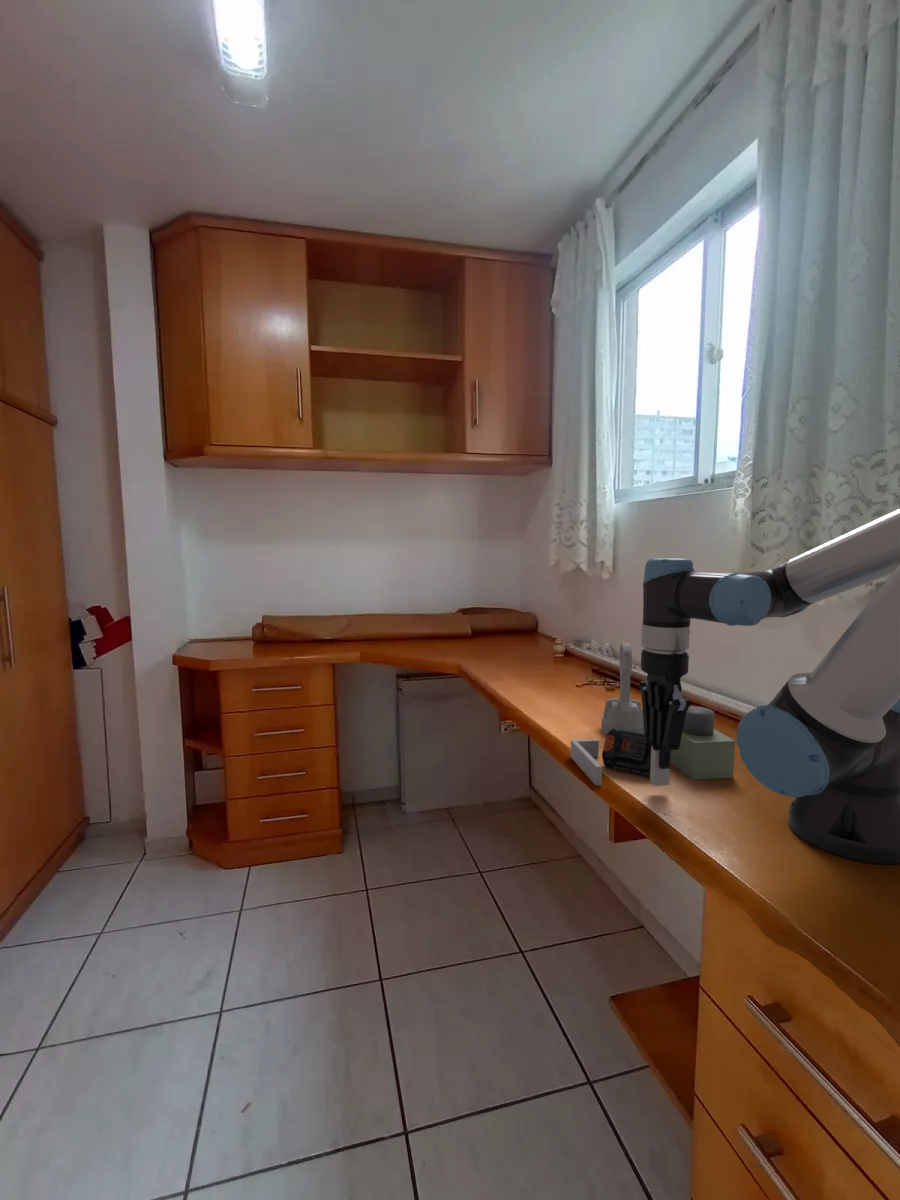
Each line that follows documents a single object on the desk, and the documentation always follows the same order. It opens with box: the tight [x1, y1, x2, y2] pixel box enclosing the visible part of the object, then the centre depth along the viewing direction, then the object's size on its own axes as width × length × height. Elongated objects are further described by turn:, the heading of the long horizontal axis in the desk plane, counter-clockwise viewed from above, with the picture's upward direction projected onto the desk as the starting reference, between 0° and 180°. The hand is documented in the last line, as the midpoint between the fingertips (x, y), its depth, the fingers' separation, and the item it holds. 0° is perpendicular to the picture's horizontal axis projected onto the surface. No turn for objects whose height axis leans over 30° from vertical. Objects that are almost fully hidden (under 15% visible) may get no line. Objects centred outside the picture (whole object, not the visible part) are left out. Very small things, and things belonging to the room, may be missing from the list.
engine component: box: [601, 642, 644, 735], centre depth 126 cm, size 11×20×10 cm
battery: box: [601, 729, 651, 778], centre depth 105 cm, size 12×8×7 cm
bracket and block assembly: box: [570, 705, 736, 787], centre depth 106 cm, size 14×26×11 cm, turn 97°
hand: (659, 783), depth 95 cm, fingers closed
